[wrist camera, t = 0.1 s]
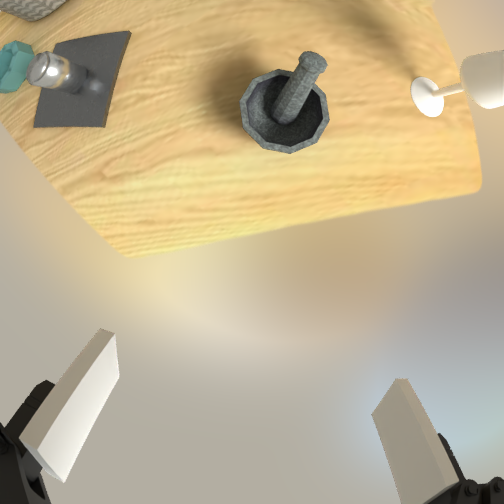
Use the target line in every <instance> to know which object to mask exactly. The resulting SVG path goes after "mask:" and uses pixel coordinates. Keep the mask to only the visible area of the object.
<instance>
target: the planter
mask: <svg viewBox="0 0 504 504" xmlns="http://www.w3.org/2000/svg"><path fill="white" fill-rule="evenodd" d="M65 1H67V0H0V10H1V11H4V12H7V13H9V14H12V15H14V16H17V17H19V18H22V19H24V20H27V21H36V20H39V19H41V18H43V17H45V16H47V15H48V14H50V13H51V12H53V11H54V10H56V9H57V8H58V7H59V6H61V5H62V4H63V3H64V2H65Z"/></svg>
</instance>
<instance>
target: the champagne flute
mask: <svg viewBox="0 0 504 504" xmlns="http://www.w3.org/2000/svg"><path fill="white" fill-rule="evenodd" d="M460 80H461V83H457V84H454V85H451V86H447V87H444V88H441V89H439V88H438V86H437V85H436V84H435V83H434V82H433V81H431V80H430V79H428V78H425V77H418V78H416V79H415V80H414V81H413V82H412V85H411V95H412V98H413V101H414V103H415V105H416V106H417V108H418V109H419V110H420V111H421V112H422V113H424V114H425V115H427V116H430V117H435V116H438V115H439V114H440V113H441V112H442V110H443V106H444V101H443V96H446V95H450V94H453V93H457V92H461V91H465V92H466V93H467V95H468V96H469V97H470V98H471V99H472V100H473V101H474V102H476V103H477V104H479V105H480V106H482V107H484V108H488V109H491V108H495V107H499V106H503V105H504V50H501V51H494V52H488V53H484V54H478V55H473V56H469V57H466V58H465V59H464V60H463V62H462V64H461V68H460Z"/></svg>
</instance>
